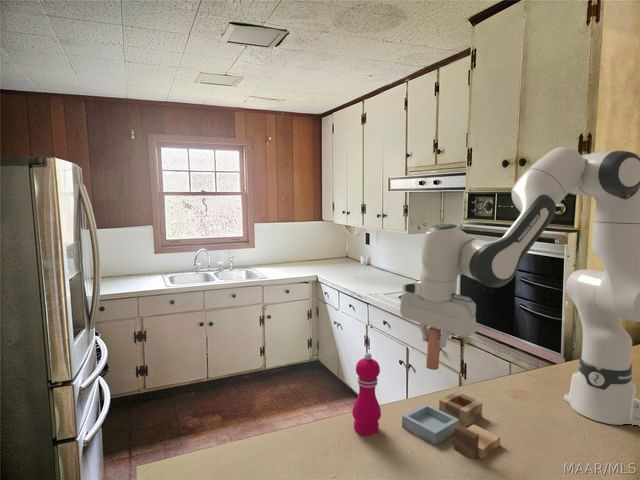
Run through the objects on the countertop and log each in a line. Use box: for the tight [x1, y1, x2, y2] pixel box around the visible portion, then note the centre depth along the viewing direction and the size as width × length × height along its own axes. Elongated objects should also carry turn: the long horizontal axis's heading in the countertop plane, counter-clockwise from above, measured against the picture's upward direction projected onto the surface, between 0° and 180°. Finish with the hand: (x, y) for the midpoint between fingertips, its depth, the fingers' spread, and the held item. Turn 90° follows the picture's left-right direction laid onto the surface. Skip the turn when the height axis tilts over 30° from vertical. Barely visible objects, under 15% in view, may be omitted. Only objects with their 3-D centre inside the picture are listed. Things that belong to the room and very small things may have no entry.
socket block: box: [438, 391, 483, 427], centre depth 113 cm, size 8×8×4 cm
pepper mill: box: [351, 352, 382, 437], centre depth 105 cm, size 7×7×20 cm
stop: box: [453, 425, 479, 459], centre depth 97 cm, size 2×5×5 cm, turn 39°
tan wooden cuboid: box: [466, 424, 501, 459], centre depth 100 cm, size 8×7×2 cm
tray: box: [401, 403, 460, 446], centre depth 106 cm, size 10×10×3 cm
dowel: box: [425, 326, 442, 371], centre depth 104 cm, size 3×3×10 cm
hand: (434, 343), depth 104 cm, fingers closed on dowel, 3 cm apart
